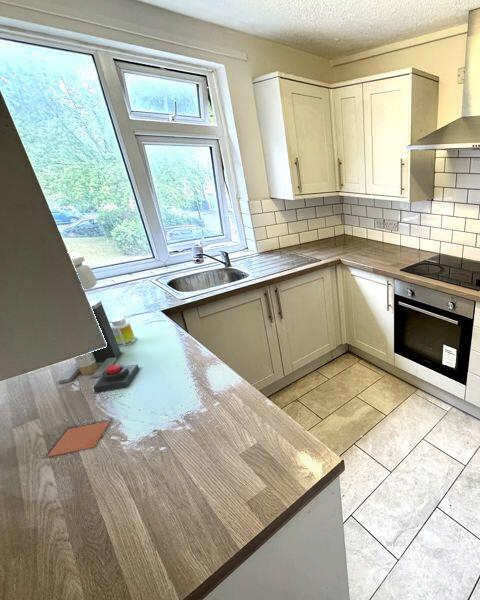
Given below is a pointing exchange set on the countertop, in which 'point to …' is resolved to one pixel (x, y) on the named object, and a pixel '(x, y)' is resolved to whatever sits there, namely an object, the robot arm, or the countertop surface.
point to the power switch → (116, 378)
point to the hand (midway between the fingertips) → (60, 305)
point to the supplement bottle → (122, 331)
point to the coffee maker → (105, 354)
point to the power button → (113, 369)
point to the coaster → (79, 438)
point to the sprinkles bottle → (86, 363)
